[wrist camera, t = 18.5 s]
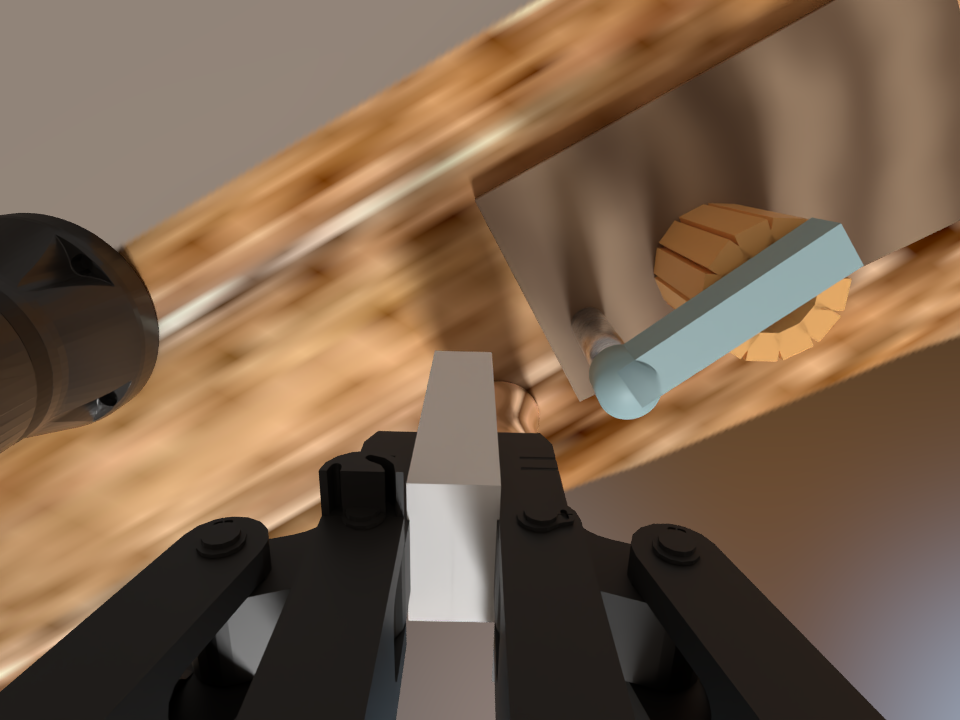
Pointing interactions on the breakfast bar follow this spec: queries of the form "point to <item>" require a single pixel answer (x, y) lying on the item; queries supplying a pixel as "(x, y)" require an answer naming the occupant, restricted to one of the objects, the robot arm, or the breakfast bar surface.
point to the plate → (745, 162)
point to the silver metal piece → (593, 332)
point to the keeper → (722, 317)
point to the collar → (724, 247)
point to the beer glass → (515, 409)
